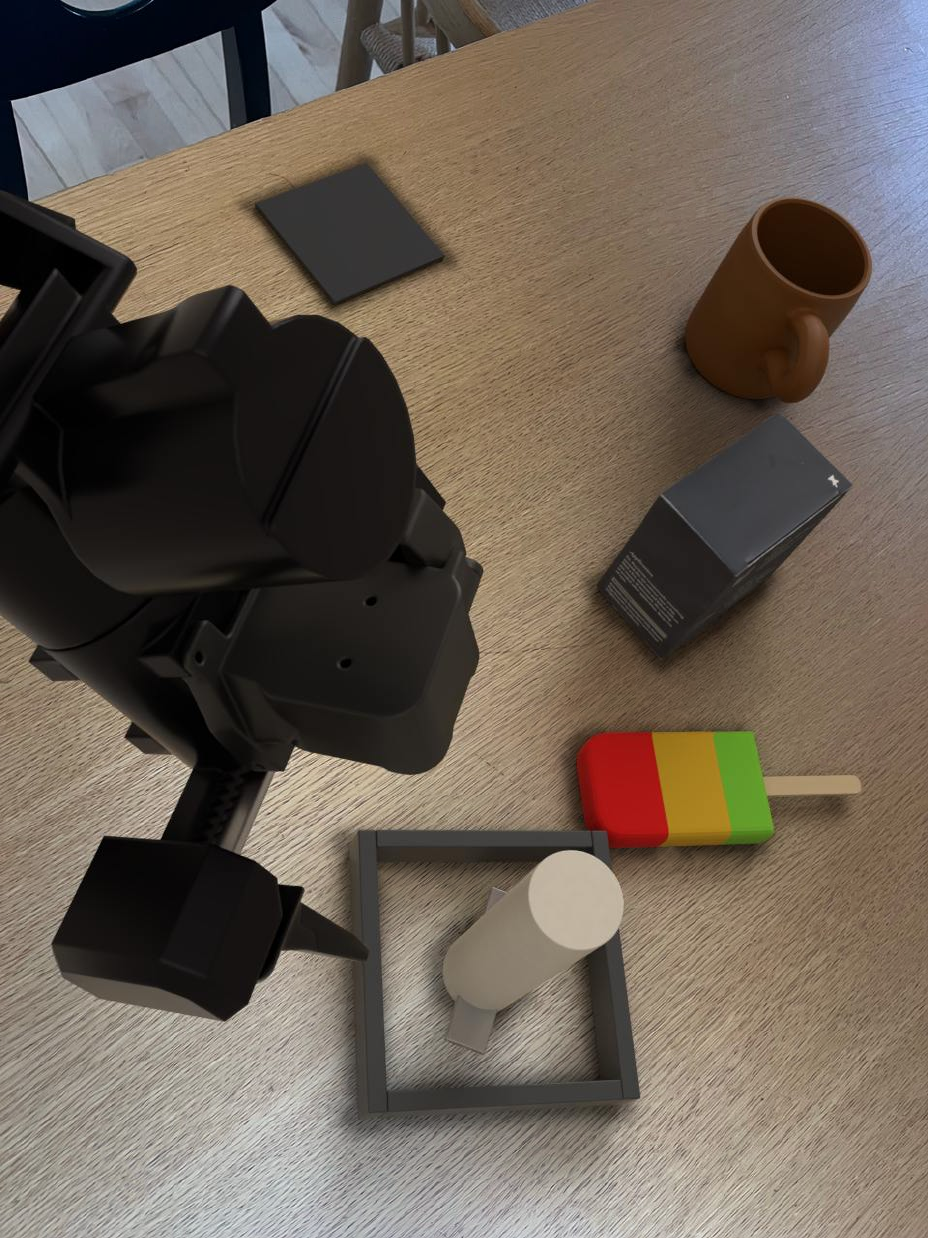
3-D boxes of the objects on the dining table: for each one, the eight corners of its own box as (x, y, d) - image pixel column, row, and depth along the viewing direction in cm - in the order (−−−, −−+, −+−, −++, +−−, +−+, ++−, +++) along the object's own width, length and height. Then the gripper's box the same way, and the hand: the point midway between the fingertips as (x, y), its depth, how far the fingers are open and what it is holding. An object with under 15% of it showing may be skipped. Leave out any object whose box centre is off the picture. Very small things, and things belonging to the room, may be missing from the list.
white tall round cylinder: (496, 1065, 54) (599, 1012, 43) (419, 1035, 54) (502, 975, 43) (539, 914, 58) (644, 829, 47) (467, 885, 58) (555, 793, 46)
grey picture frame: (357, 1119, 52) (368, 1113, 50) (348, 845, 57) (357, 829, 55) (620, 1105, 55) (641, 1098, 53) (589, 845, 60) (607, 830, 58)
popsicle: (569, 743, 62) (582, 728, 61) (837, 740, 66) (856, 727, 65) (585, 852, 60) (599, 840, 58) (862, 843, 64) (883, 832, 62)
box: (703, 505, 71) (781, 405, 63) (771, 577, 70) (859, 486, 62) (590, 585, 67) (658, 490, 58) (661, 664, 66) (740, 578, 57)
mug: (806, 475, 74) (892, 378, 66) (685, 452, 72) (758, 350, 64) (790, 318, 80) (868, 210, 71) (677, 293, 78) (744, 180, 70)
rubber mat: (334, 305, 71) (334, 301, 71) (254, 206, 73) (255, 202, 72) (443, 258, 74) (444, 255, 74) (365, 165, 76) (366, 161, 76)
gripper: (174, 905, 25) (524, 1145, 35) (453, 275, 35) (666, 609, 45) (-137, 870, 31) (237, 1082, 42) (171, 344, 41) (415, 623, 51)
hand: (402, 833), depth 45 cm, fingers open, 9 cm apart
